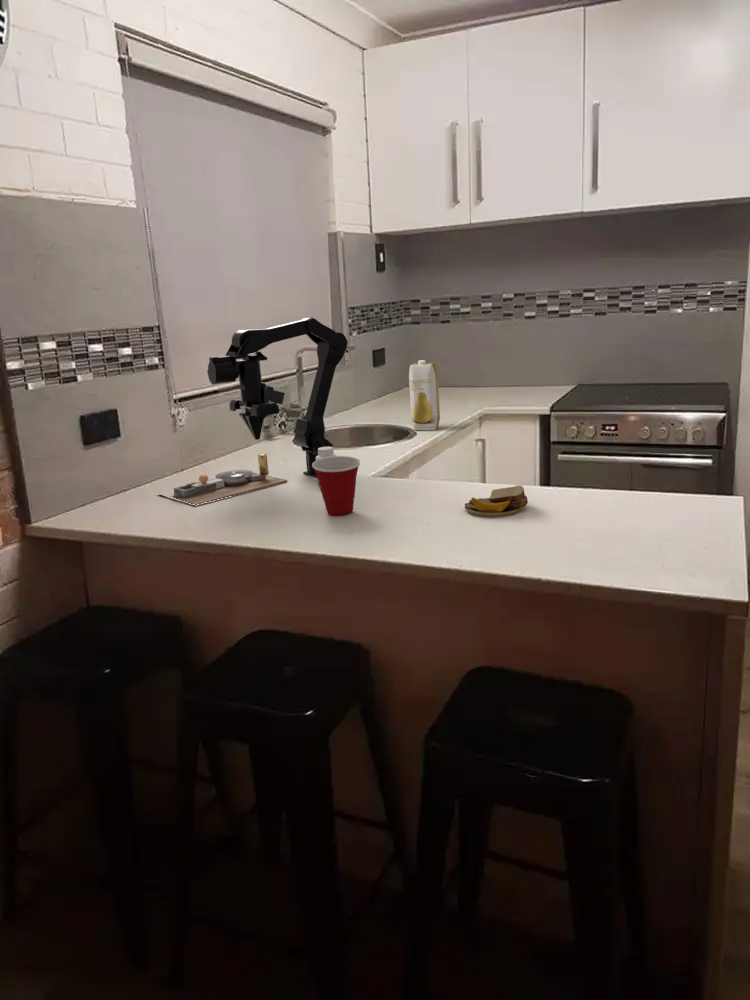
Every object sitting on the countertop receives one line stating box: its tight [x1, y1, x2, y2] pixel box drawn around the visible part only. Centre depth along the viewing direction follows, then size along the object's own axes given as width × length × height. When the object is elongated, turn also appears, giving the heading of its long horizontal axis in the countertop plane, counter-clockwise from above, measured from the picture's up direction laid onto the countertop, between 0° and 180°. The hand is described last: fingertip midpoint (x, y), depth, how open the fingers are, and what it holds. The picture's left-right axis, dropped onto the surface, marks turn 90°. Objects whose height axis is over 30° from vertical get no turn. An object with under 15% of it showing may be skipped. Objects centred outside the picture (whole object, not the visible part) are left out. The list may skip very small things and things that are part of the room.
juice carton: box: [408, 359, 441, 431], centre depth 262 cm, size 9×8×24 cm
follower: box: [191, 474, 225, 489], centre depth 198 cm, size 3×8×4 cm, turn 133°
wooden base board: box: [170, 472, 288, 505], centre depth 201 cm, size 20×28×3 cm
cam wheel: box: [215, 453, 270, 486], centre depth 205 cm, size 12×12×7 cm
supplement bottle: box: [316, 446, 337, 488], centre depth 194 cm, size 6×6×10 cm
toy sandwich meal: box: [464, 485, 529, 518], centre depth 164 cm, size 12×14×5 cm
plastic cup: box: [312, 455, 361, 517], centre depth 169 cm, size 11×11×12 cm
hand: (257, 439), depth 198 cm, fingers closed
